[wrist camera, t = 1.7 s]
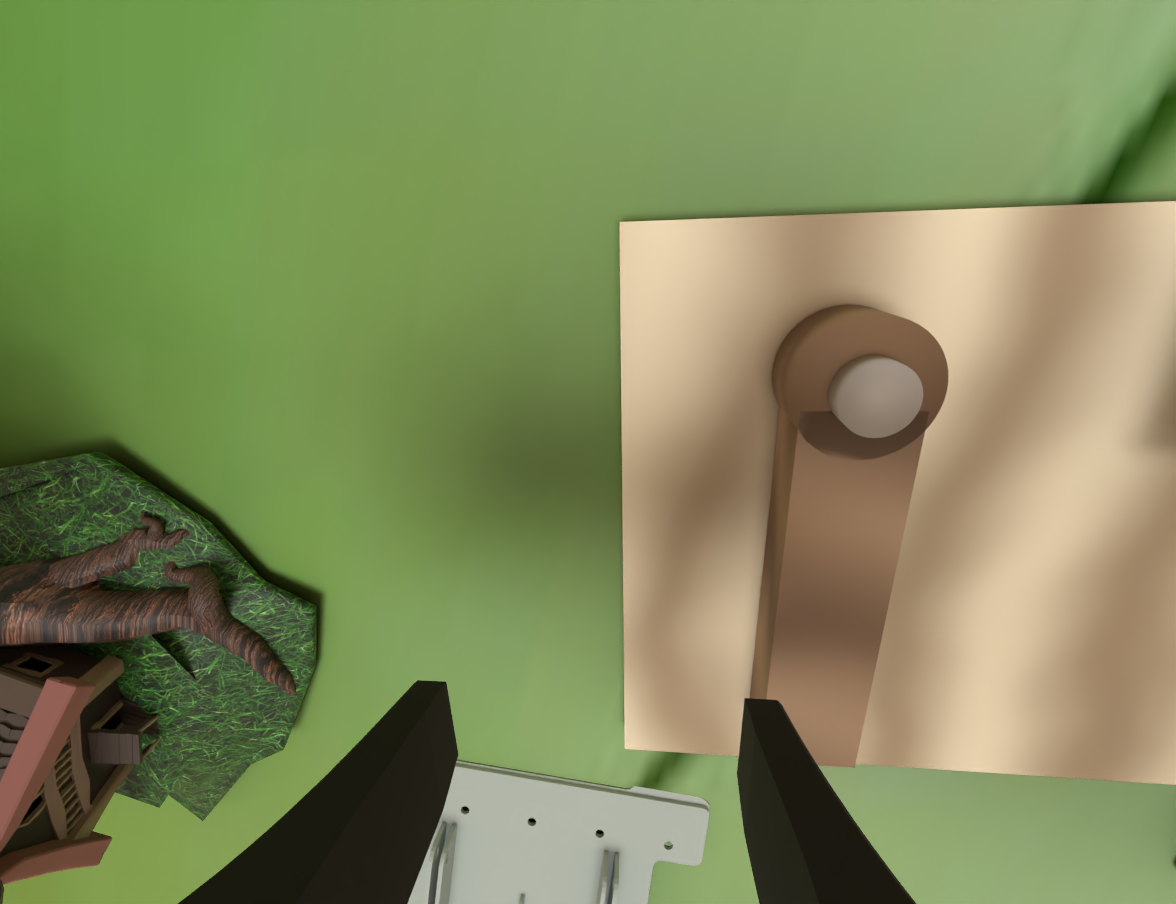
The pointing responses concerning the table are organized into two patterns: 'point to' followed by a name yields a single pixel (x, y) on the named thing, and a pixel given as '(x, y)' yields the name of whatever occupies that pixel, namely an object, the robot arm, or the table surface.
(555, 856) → the metal bracket
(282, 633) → the bonsai tree
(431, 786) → the robot arm
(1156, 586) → the base board
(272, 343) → the table surface
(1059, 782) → the table surface
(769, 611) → the latch bar
